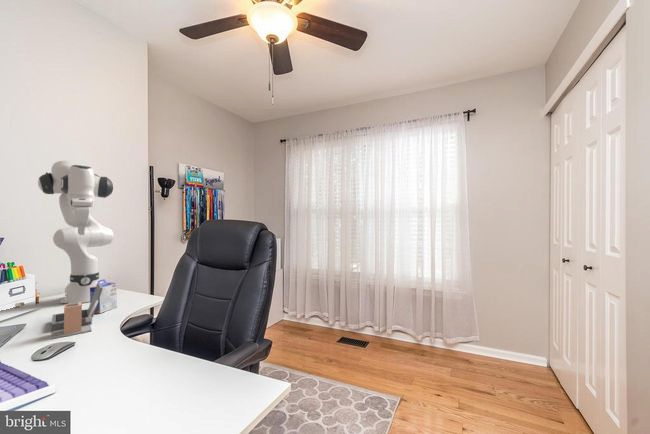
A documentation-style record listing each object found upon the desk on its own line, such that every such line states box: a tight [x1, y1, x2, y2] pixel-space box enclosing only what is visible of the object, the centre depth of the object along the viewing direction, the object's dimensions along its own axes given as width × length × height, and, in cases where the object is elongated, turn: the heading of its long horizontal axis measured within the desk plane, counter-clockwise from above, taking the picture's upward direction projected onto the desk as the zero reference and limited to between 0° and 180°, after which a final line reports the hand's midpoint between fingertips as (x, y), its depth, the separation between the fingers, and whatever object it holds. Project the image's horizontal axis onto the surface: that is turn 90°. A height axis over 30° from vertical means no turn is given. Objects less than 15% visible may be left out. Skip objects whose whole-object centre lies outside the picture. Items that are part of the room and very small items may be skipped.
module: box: [63, 302, 83, 334], centre depth 110 cm, size 5×5×11 cm
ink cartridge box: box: [89, 279, 118, 315], centre depth 135 cm, size 10×6×14 cm, turn 174°
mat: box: [52, 324, 92, 340], centre depth 110 cm, size 8×11×1 cm
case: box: [51, 282, 103, 333], centre depth 119 cm, size 16×16×15 cm
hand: (81, 234), depth 123 cm, fingers open, 8 cm apart
